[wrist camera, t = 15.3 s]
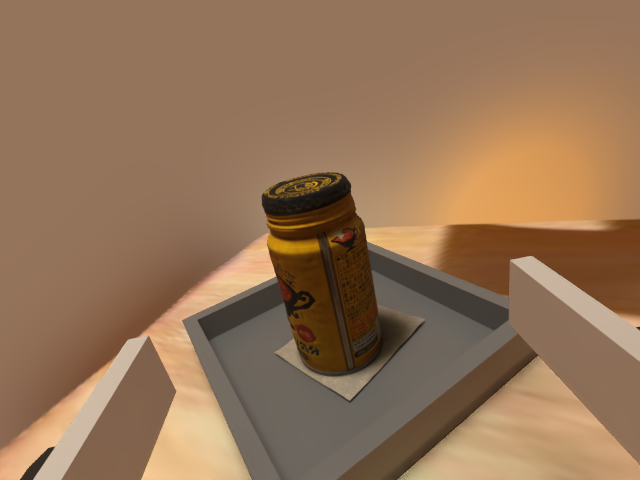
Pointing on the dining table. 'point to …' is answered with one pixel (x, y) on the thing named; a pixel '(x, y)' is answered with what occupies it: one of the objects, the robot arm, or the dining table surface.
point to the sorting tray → (376, 396)
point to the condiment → (329, 284)
